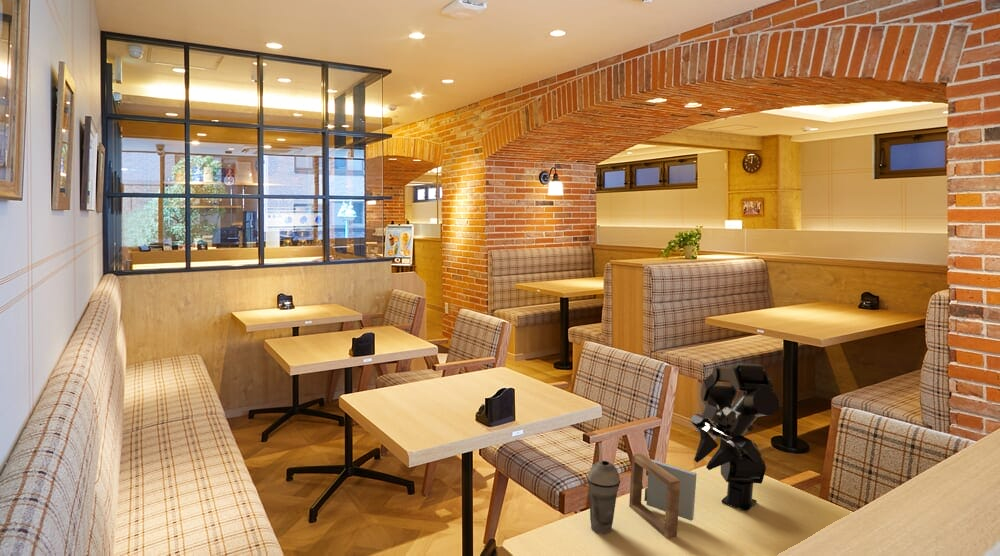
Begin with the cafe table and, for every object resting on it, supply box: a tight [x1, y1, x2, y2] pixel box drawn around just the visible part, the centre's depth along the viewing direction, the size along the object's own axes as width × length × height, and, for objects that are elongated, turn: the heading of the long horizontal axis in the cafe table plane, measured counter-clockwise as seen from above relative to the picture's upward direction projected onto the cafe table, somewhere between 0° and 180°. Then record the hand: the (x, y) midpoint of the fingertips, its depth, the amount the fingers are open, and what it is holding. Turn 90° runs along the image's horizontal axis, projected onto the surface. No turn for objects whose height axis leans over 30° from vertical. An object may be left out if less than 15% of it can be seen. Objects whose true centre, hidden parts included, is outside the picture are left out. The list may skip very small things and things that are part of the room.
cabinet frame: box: [628, 453, 680, 540], centre depth 139 cm, size 2×15×13 cm, turn 21°
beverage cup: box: [586, 441, 621, 535], centre depth 134 cm, size 7×7×20 cm
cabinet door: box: [644, 459, 697, 522], centre depth 141 cm, size 2×12×11 cm, turn 51°
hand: (701, 464), depth 141 cm, fingers open, 4 cm apart
